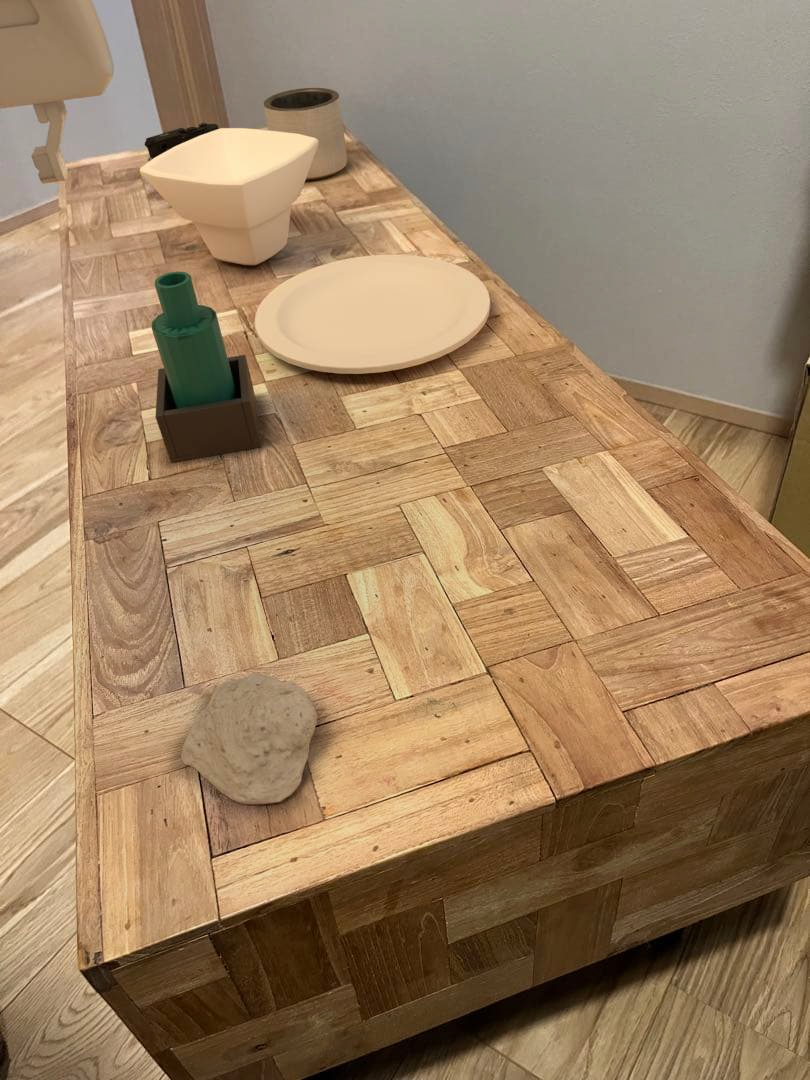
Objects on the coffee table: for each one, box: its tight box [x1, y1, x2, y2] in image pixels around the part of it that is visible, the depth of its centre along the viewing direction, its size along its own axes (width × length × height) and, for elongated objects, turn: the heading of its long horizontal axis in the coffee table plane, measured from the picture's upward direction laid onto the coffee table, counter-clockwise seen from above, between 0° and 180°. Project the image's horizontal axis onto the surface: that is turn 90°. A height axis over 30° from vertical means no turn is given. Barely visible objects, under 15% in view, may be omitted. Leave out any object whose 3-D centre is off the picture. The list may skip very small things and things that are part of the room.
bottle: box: [151, 271, 238, 409], centre depth 79 cm, size 6×6×16 cm
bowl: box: [139, 127, 319, 266], centre depth 112 cm, size 19×19×14 cm
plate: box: [254, 254, 491, 375], centre depth 99 cm, size 28×28×2 cm
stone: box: [180, 672, 318, 805], centre depth 56 cm, size 10×5×10 cm
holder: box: [154, 354, 262, 464], centre depth 83 cm, size 9×9×6 cm
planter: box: [263, 87, 348, 182], centre depth 137 cm, size 12×12×11 cm
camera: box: [144, 122, 220, 162], centre depth 141 cm, size 14×7×8 cm, turn 130°
